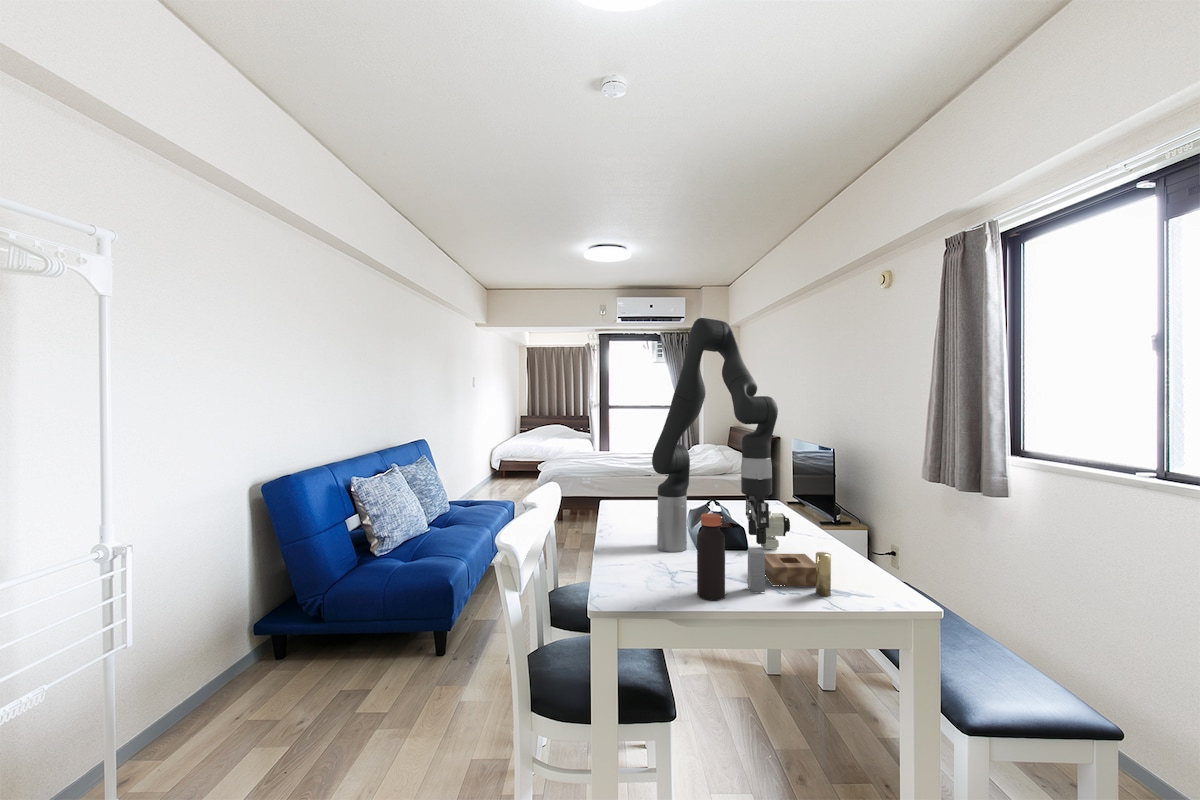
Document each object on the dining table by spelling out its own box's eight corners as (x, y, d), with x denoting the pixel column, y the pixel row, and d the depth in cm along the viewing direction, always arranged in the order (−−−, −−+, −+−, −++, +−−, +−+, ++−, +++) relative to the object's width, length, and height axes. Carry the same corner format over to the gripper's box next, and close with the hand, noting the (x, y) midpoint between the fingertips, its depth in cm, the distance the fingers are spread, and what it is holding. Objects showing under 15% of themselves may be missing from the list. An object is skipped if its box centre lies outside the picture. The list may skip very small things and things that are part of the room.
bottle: (691, 595, 139) (691, 514, 139) (709, 588, 143) (709, 511, 143) (712, 603, 134) (712, 519, 133) (730, 596, 138) (730, 515, 137)
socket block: (773, 586, 145) (773, 567, 144) (761, 571, 157) (761, 553, 156) (820, 586, 144) (820, 567, 144) (805, 571, 156) (805, 553, 156)
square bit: (750, 593, 140) (750, 553, 140) (747, 587, 144) (747, 549, 143) (764, 593, 140) (764, 553, 140) (761, 588, 143) (761, 549, 143)
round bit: (818, 596, 137) (818, 556, 137) (813, 591, 141) (813, 551, 141) (832, 596, 137) (833, 556, 137) (827, 591, 141) (827, 552, 141)
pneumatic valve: (749, 545, 182) (749, 509, 181) (787, 547, 180) (787, 510, 180) (752, 550, 176) (752, 512, 176) (790, 552, 175) (790, 513, 174)
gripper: (735, 471, 149) (736, 532, 149) (747, 479, 134) (748, 546, 135) (764, 471, 148) (764, 532, 148) (779, 479, 134) (779, 546, 134)
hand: (757, 539), depth 141 cm, fingers open, 8 cm apart
